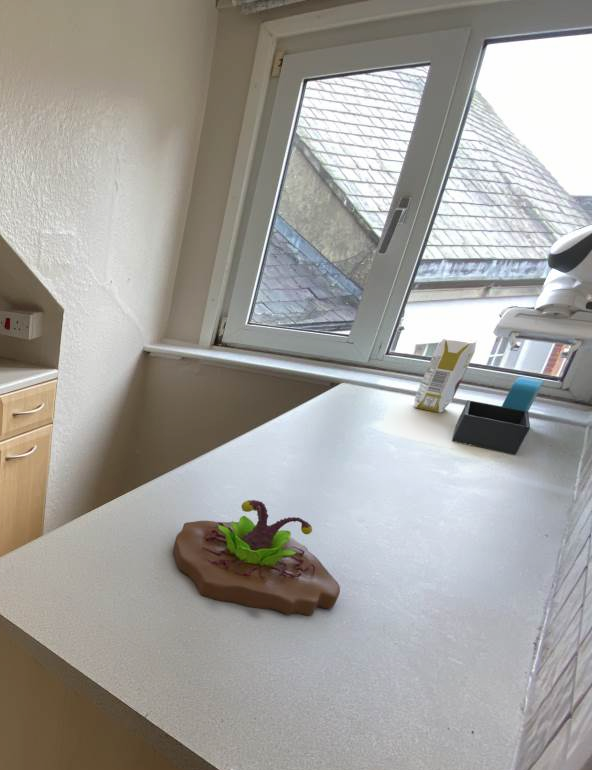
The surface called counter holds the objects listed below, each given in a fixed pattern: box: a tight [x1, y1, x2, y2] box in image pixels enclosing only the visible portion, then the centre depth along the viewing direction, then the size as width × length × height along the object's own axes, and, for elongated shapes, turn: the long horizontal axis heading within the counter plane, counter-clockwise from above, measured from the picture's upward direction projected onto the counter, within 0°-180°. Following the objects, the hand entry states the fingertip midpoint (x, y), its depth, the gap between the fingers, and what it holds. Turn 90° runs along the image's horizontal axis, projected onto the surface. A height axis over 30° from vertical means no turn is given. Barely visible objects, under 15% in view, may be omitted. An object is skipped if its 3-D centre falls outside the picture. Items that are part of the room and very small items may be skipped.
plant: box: [172, 499, 341, 616], centre depth 76 cm, size 20×20×11 cm
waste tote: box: [451, 400, 531, 456], centre depth 130 cm, size 11×16×7 cm
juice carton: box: [413, 335, 477, 414], centre depth 148 cm, size 8×9×19 cm
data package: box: [501, 376, 545, 412], centre depth 138 cm, size 12×4×12 cm, turn 130°
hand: (538, 353), depth 140 cm, fingers open, 8 cm apart
